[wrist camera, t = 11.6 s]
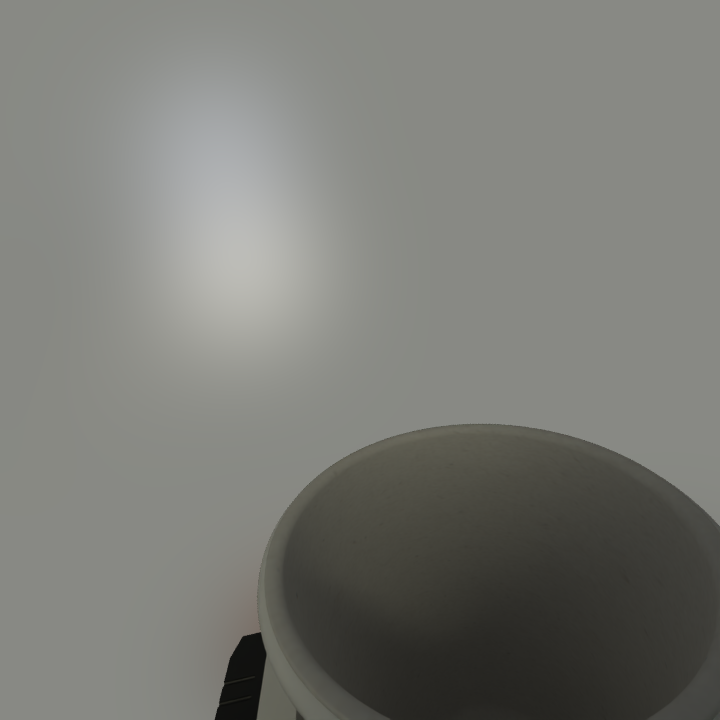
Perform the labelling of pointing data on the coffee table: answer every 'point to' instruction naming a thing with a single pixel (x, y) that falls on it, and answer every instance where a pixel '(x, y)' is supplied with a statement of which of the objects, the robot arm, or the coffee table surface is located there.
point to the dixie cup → (493, 584)
